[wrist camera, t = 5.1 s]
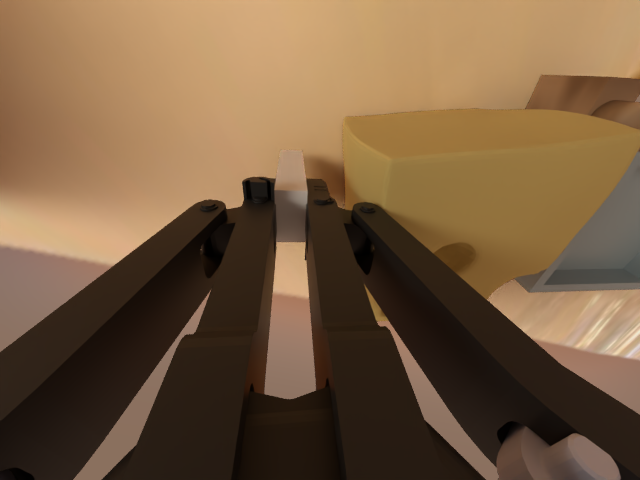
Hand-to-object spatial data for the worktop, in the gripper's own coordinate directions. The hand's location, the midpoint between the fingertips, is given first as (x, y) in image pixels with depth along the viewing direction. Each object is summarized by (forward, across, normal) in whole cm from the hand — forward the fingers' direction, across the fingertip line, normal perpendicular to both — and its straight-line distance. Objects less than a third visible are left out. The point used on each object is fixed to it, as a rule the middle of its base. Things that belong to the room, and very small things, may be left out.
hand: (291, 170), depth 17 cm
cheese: (+2, +9, -1) cm, 9 cm away
